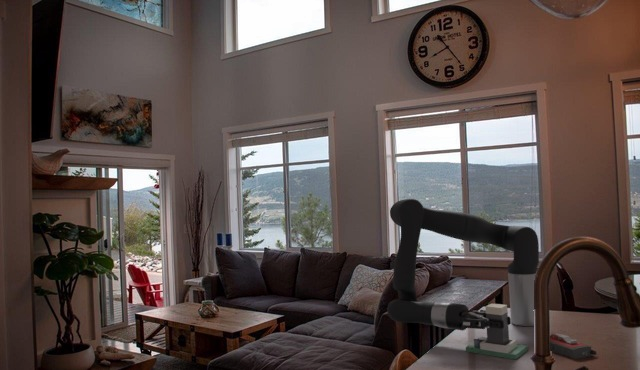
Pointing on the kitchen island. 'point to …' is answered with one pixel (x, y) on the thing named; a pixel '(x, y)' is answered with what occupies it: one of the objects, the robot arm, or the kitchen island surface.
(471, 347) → the controller board
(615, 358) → the kitchen island surface
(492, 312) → the grey and cream block
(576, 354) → the walkie-talkie
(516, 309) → the robot arm
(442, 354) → the kitchen island surface
